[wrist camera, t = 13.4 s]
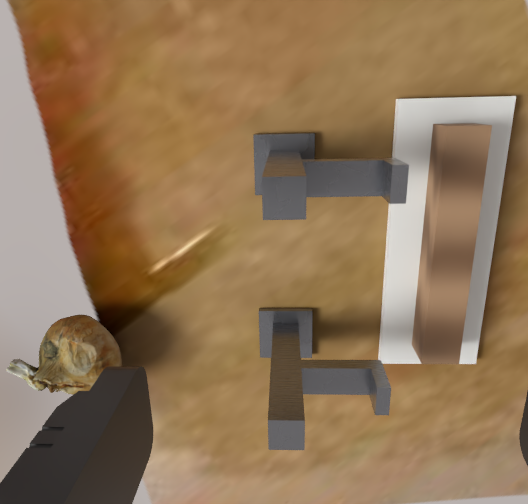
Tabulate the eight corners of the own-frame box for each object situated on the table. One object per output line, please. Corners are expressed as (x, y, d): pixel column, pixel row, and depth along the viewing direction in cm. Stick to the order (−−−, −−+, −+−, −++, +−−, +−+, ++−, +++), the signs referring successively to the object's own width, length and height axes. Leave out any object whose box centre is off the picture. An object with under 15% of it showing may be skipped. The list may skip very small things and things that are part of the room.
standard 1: (259, 308, 42) (247, 403, 29) (366, 307, 41) (405, 404, 28) (260, 354, 44) (250, 464, 30) (364, 354, 43) (399, 466, 30)
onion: (90, 386, 46) (52, 442, 38) (39, 326, 44) (-12, 373, 36) (148, 353, 44) (120, 405, 37) (98, 290, 42) (58, 331, 35)
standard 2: (254, 134, 37) (237, 152, 24) (376, 131, 36) (429, 149, 23) (255, 193, 38) (240, 242, 25) (373, 191, 38) (420, 240, 25)
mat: (396, 98, 35) (398, 98, 35) (511, 96, 35) (516, 96, 34) (378, 358, 43) (380, 363, 42) (472, 359, 43) (475, 363, 42)
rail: (433, 123, 35) (447, 126, 32) (474, 123, 35) (492, 125, 32) (411, 344, 42) (421, 363, 39) (446, 344, 41) (459, 364, 38)
